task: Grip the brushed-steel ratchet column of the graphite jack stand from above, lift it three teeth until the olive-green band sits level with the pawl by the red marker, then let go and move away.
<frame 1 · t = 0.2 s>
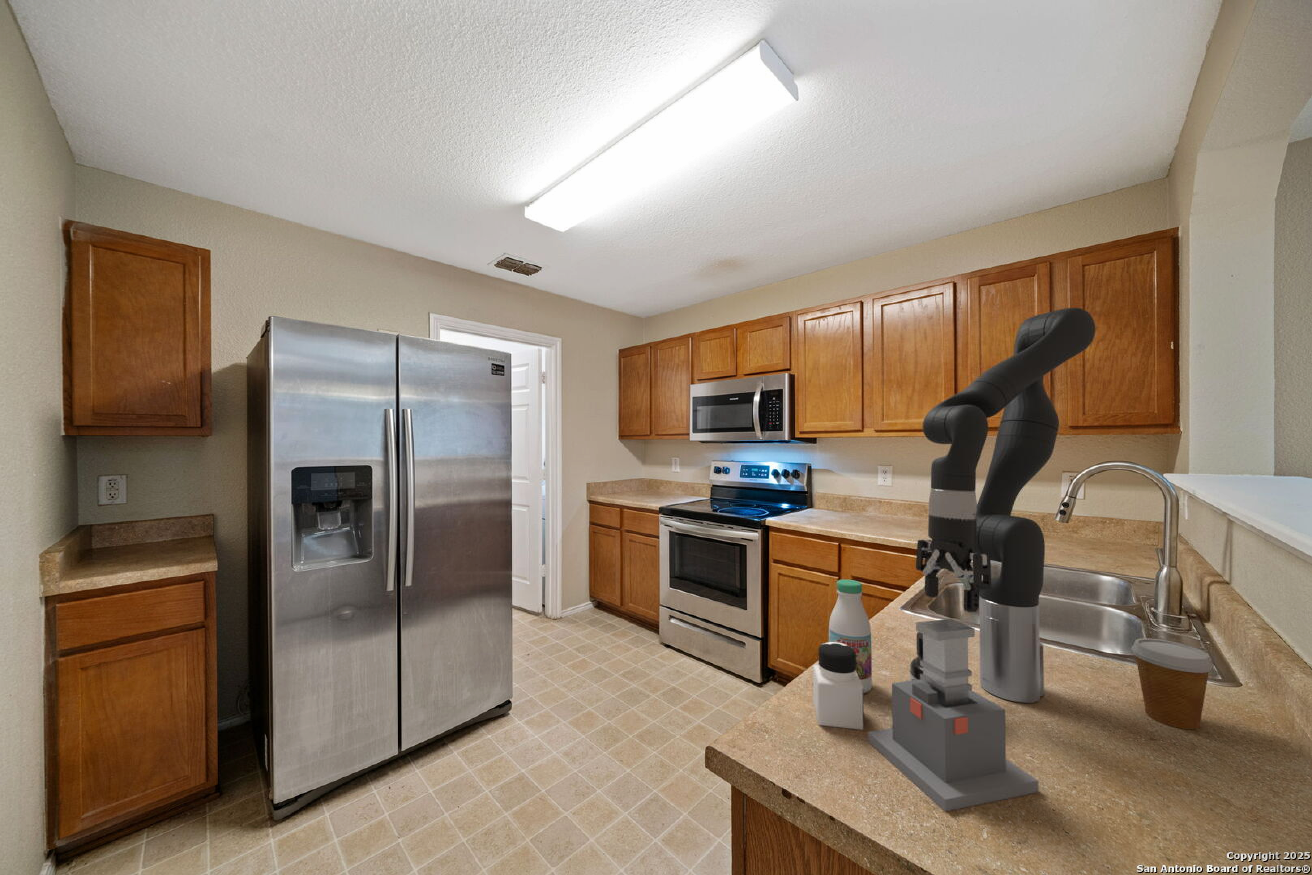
hand: (950, 603, 88), 18 cm above the counter, tool pointing down, fingers open, 8 cm apart
disposable coffee cup: (1171, 720, 82), on the counter
milk bottle: (850, 686, 94), on the counter
medicine bottle: (837, 717, 83), on the counter
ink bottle: (938, 706, 87), on the counter
stand base: (946, 764, 70), on the counter
column: (945, 687, 71), point 11 cm above the counter, slide at 0.0 cm
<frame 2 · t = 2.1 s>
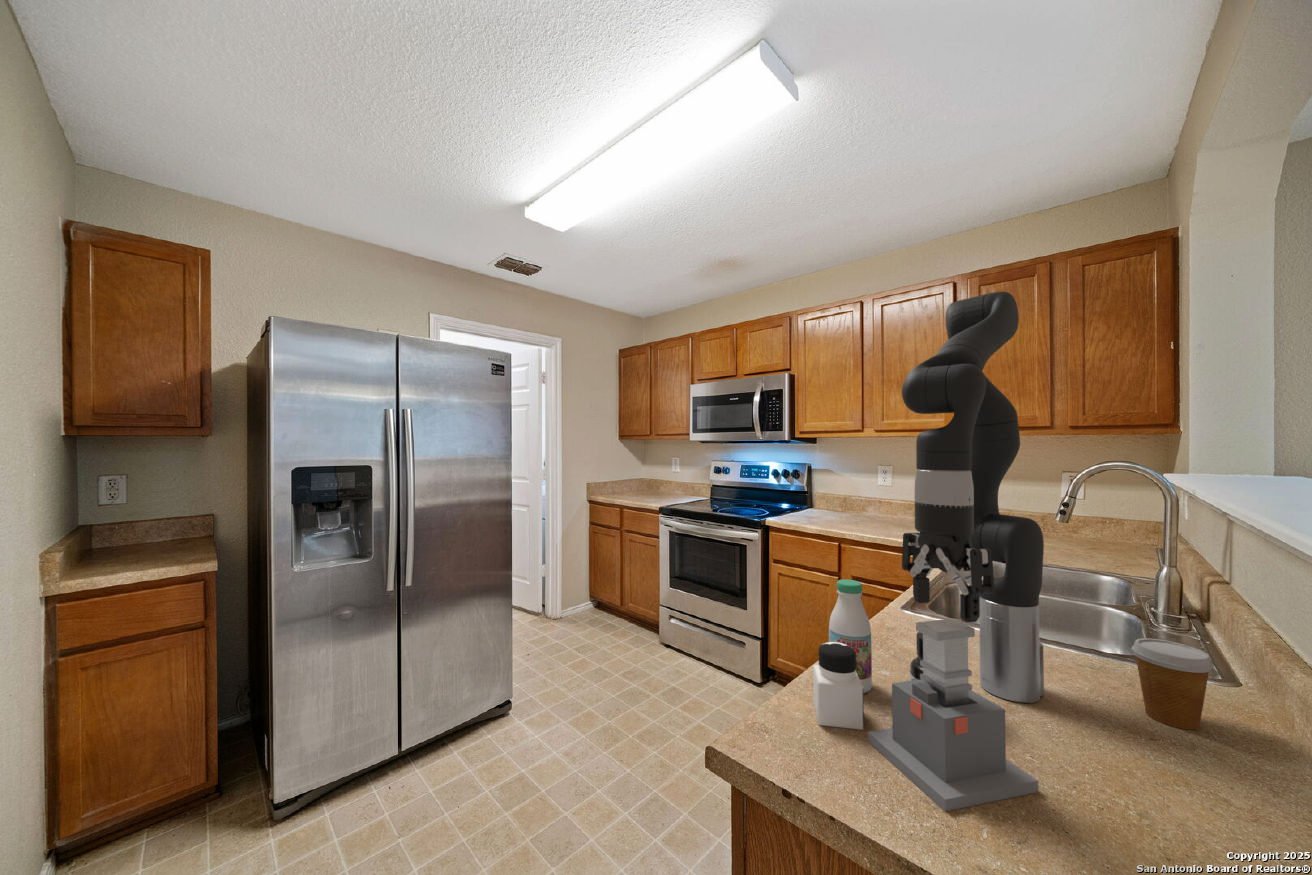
hand: (943, 611, 71), 22 cm above the counter, tool pointing down, fingers open, 8 cm apart
nothing on the counter moved.
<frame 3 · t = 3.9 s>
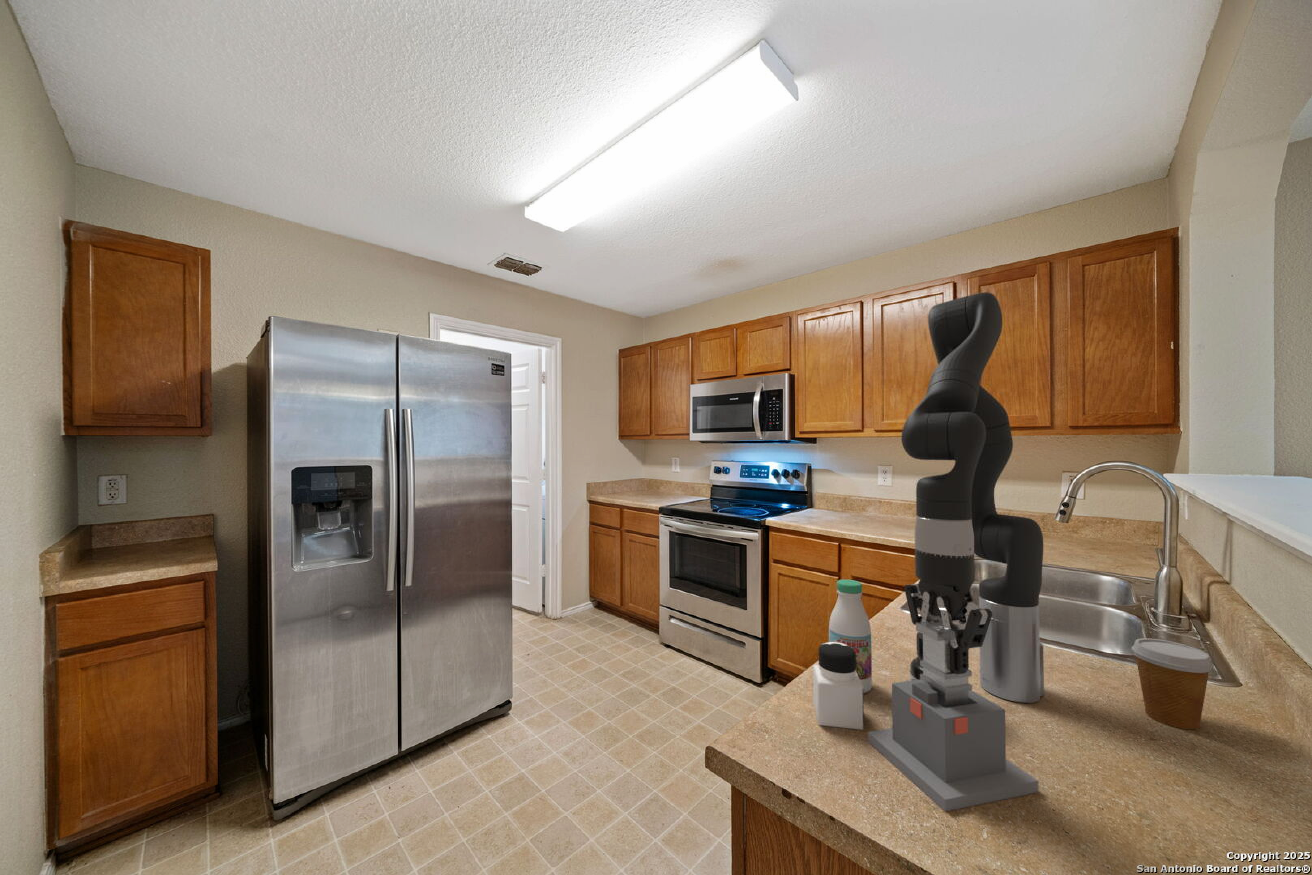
hand: (945, 664, 71), 14 cm above the counter, tool pointing down, fingers closed on column, 4 cm apart
column: (945, 688, 71), point 11 cm above the counter, slide at 0.0 cm, touching gripper
everything else where it was.
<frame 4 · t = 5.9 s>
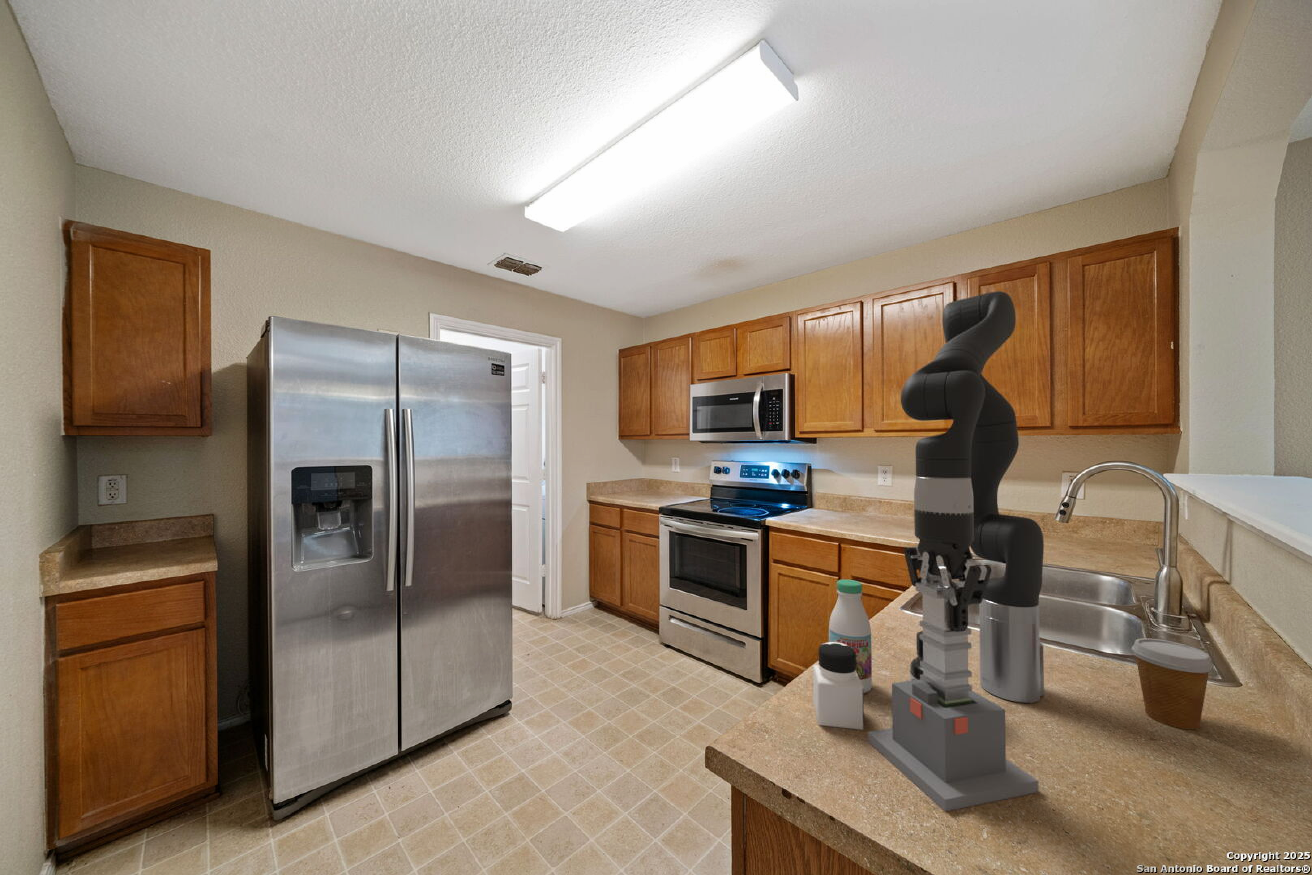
hand: (944, 624, 71), 20 cm above the counter, tool pointing down, fingers closed on column, 4 cm apart
column: (945, 647, 71), point 17 cm above the counter, slide at 5.9 cm, touching gripper
everything else where it was.
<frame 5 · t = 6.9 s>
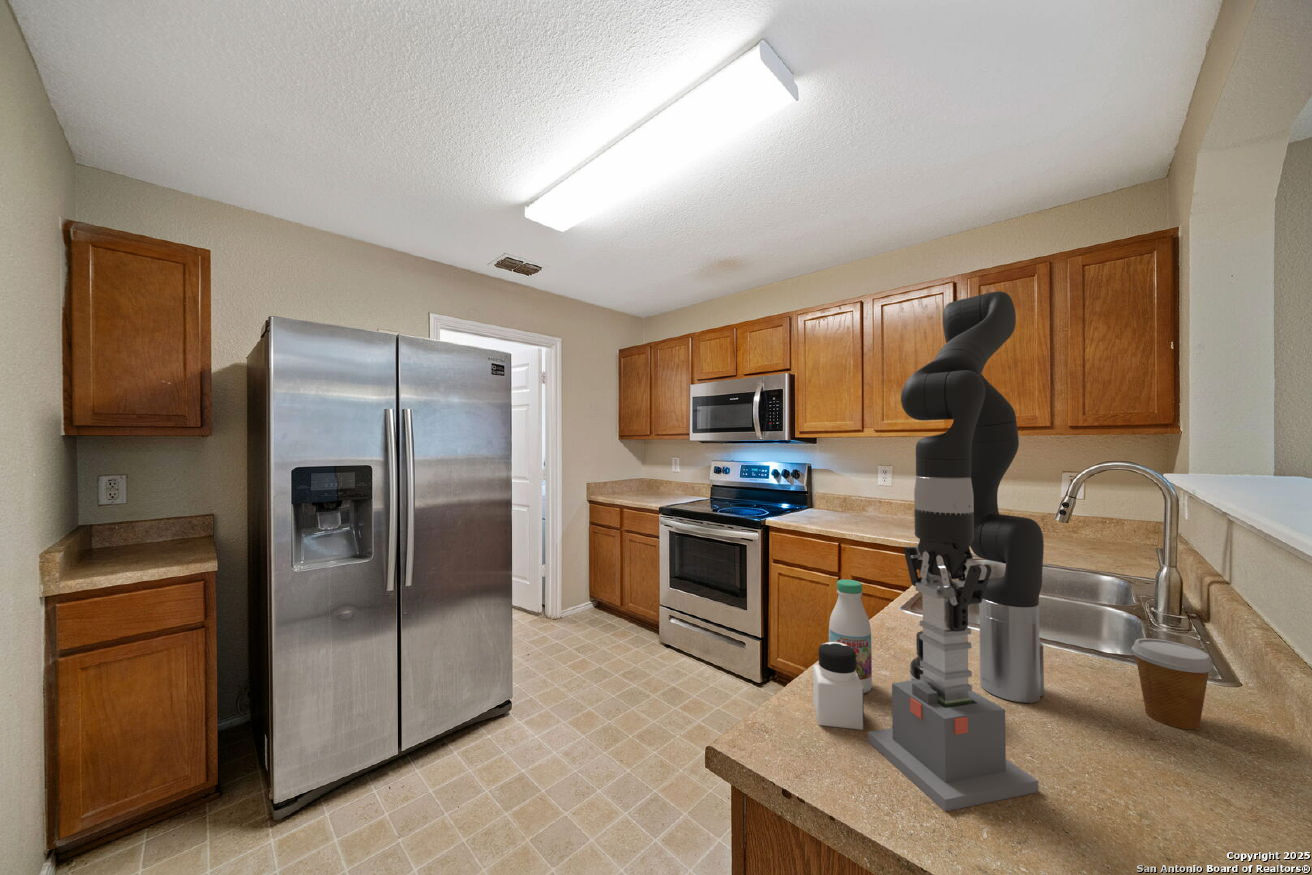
hand: (944, 623, 71), 20 cm above the counter, tool pointing down, fingers closed on column, 4 cm apart
column: (945, 647, 71), point 17 cm above the counter, slide at 5.9 cm, touching gripper
everything else where it was.
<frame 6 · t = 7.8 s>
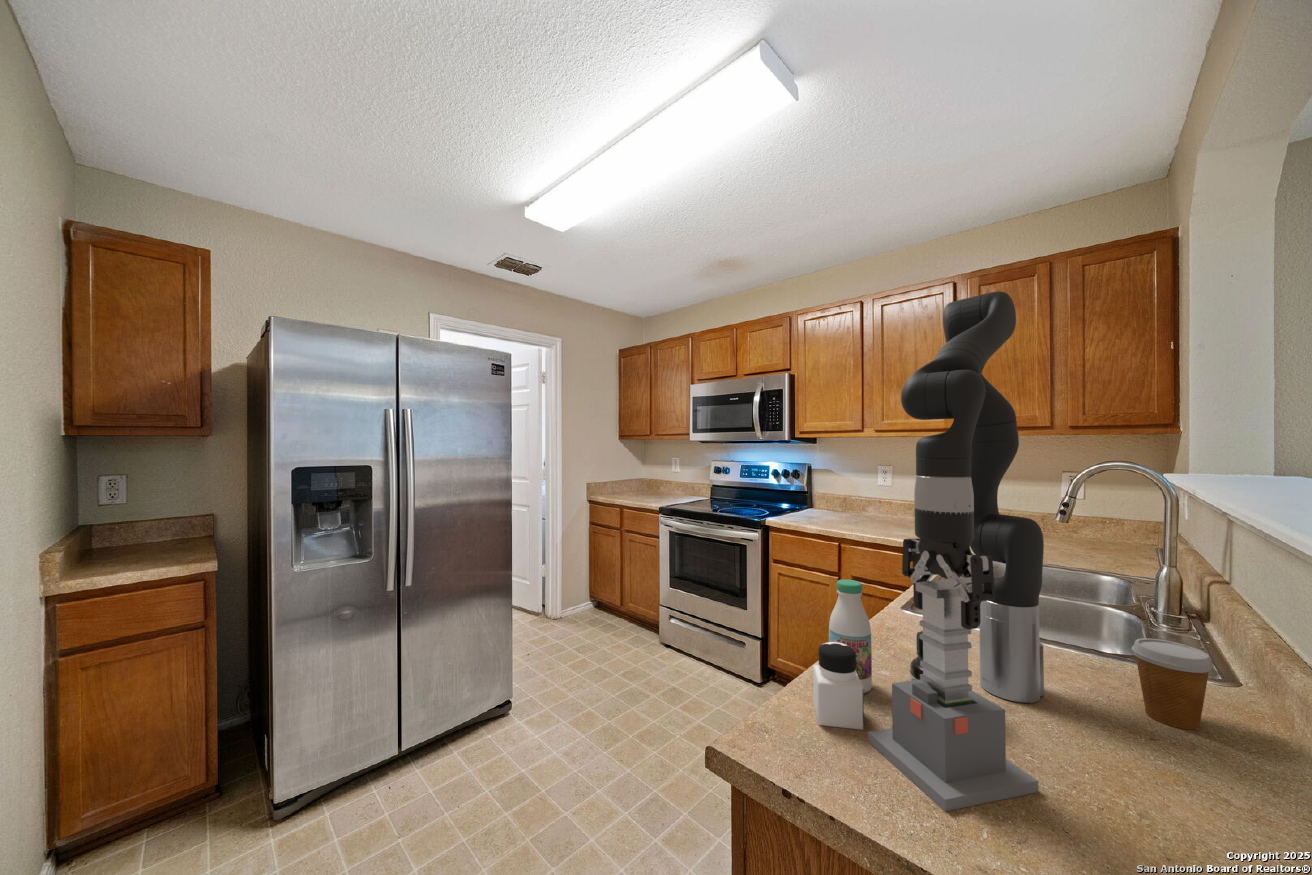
hand: (944, 617, 71), 21 cm above the counter, tool pointing down, fingers open, 8 cm apart
column: (945, 647, 71), point 17 cm above the counter, slide at 5.9 cm
everything else where it was.
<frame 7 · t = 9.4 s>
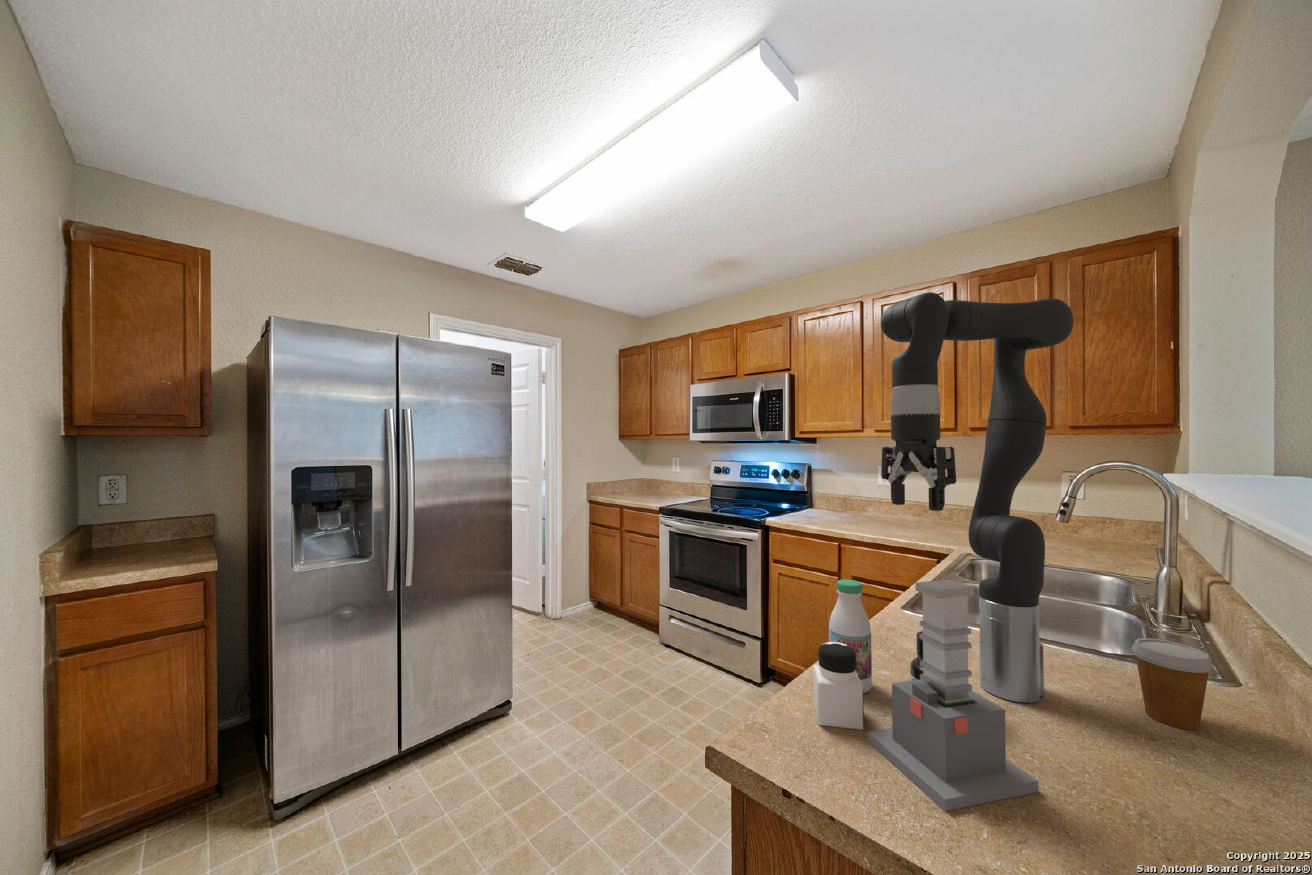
hand: (916, 507, 83), 36 cm above the counter, tool pointing down, fingers open, 8 cm apart
nothing on the counter moved.
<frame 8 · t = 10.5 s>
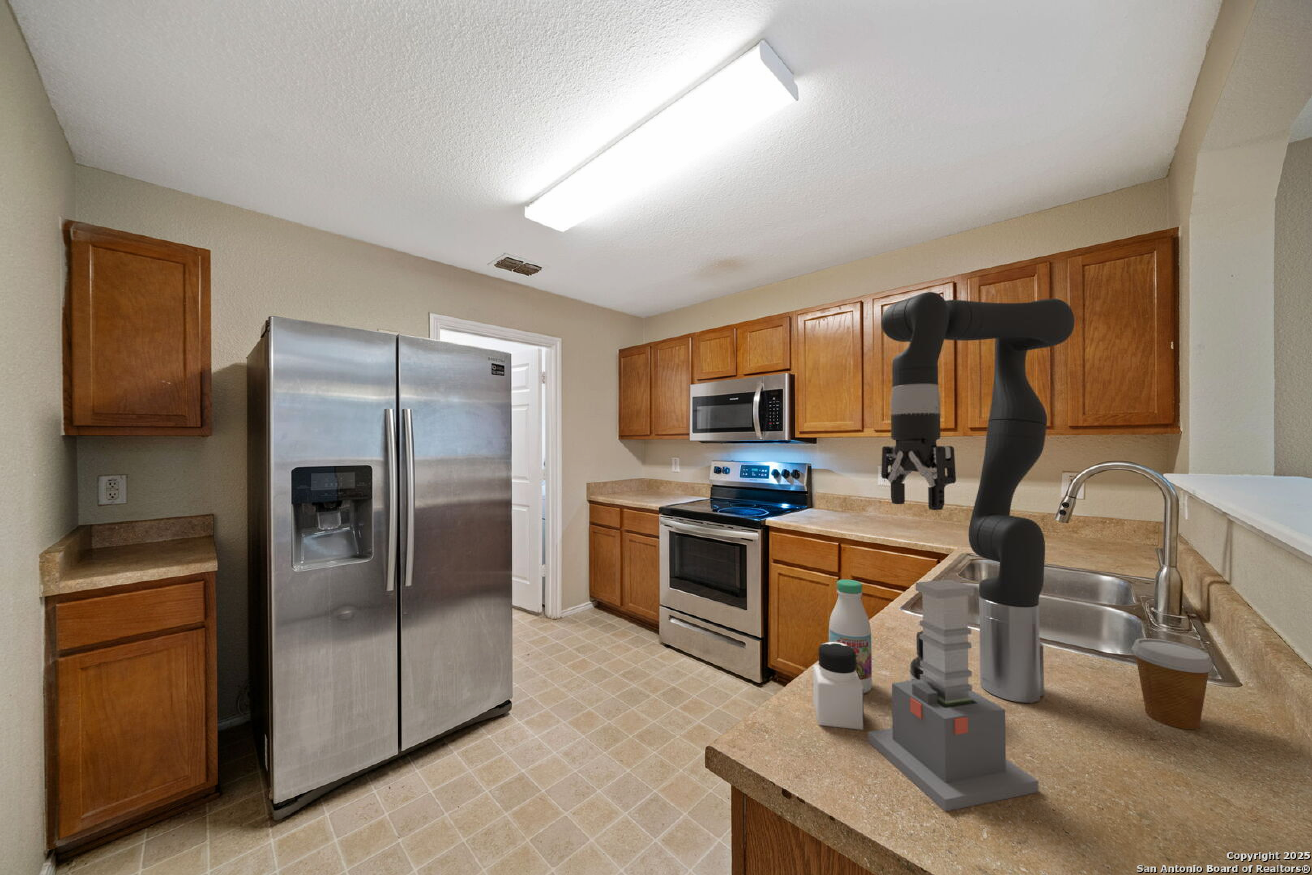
hand: (916, 506, 83), 36 cm above the counter, tool pointing down, fingers open, 8 cm apart
nothing on the counter moved.
at the end: column slide at 5.9 cm; the gripper is holding nothing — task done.
